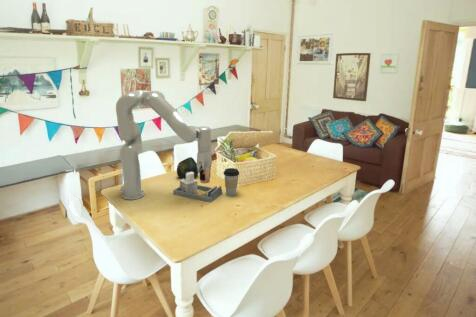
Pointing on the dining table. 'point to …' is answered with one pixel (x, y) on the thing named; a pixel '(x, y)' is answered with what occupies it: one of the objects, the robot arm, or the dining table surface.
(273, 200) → the dining table surface
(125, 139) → the robot arm
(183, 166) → the squash
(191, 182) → the container
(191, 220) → the dining table surface
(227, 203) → the dining table surface
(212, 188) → the pusher
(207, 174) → the jar
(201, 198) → the tray
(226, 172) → the coffee cup
